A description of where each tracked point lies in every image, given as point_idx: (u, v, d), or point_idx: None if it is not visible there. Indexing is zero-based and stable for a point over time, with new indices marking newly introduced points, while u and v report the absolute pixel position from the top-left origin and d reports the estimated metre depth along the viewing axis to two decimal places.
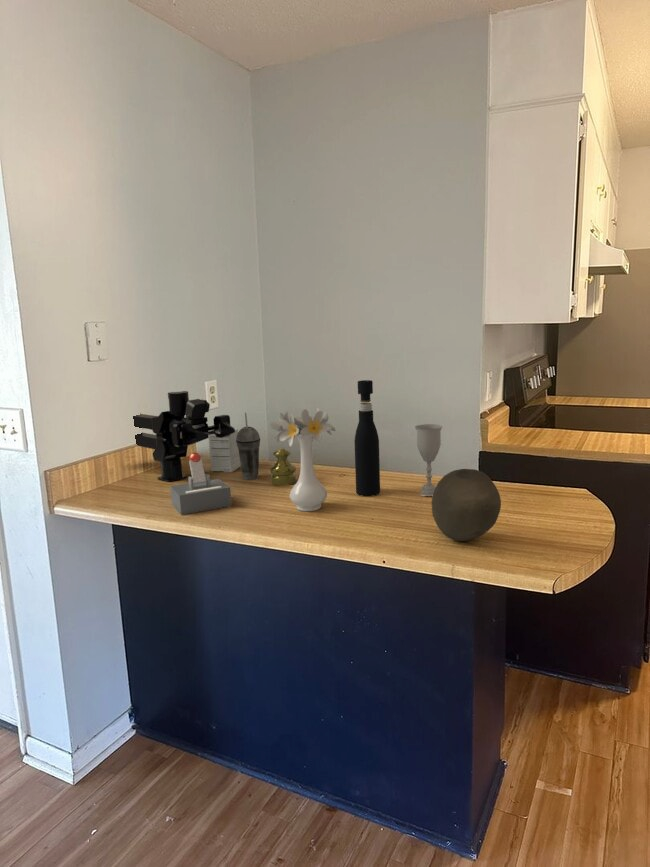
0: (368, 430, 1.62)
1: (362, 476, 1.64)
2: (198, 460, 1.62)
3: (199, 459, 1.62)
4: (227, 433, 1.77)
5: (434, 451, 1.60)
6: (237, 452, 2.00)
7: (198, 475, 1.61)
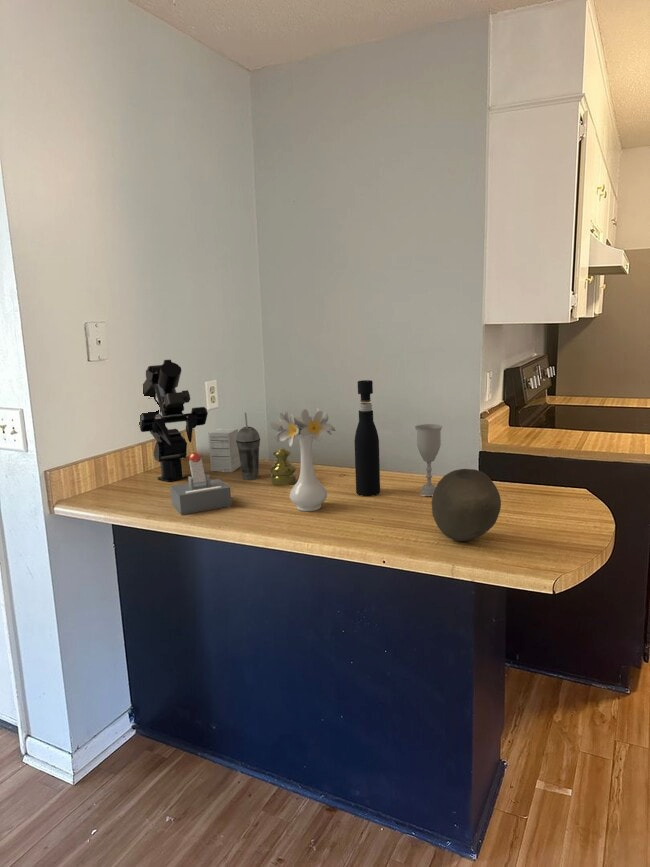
0: (368, 430, 1.62)
1: (362, 476, 1.64)
2: (198, 460, 1.62)
3: (199, 459, 1.62)
4: (187, 435, 1.79)
5: (434, 451, 1.60)
6: (237, 452, 2.00)
7: (198, 475, 1.61)
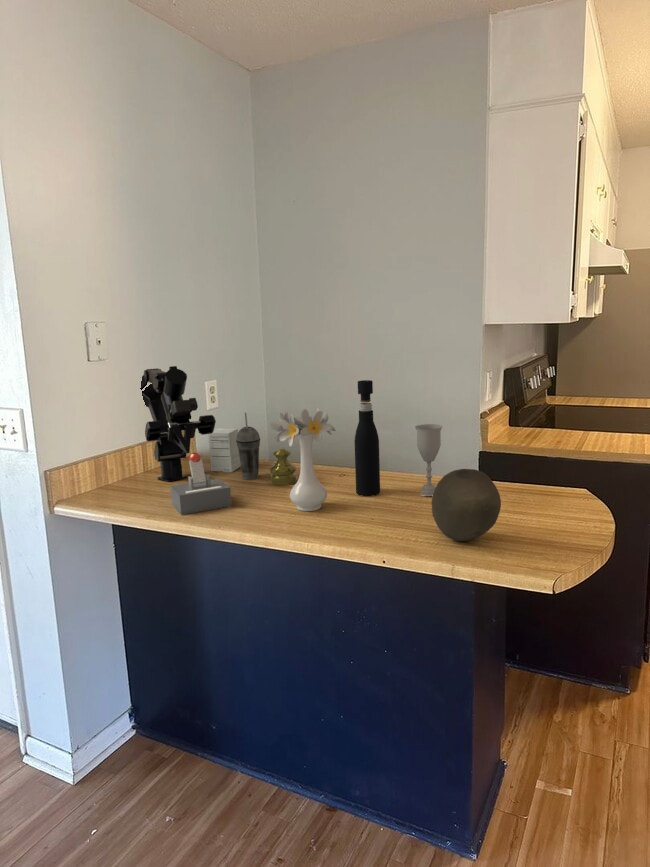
0: (368, 430, 1.62)
1: (362, 476, 1.64)
2: (198, 460, 1.62)
3: (199, 459, 1.62)
4: None
5: (434, 451, 1.60)
6: (237, 452, 2.00)
7: (198, 475, 1.61)
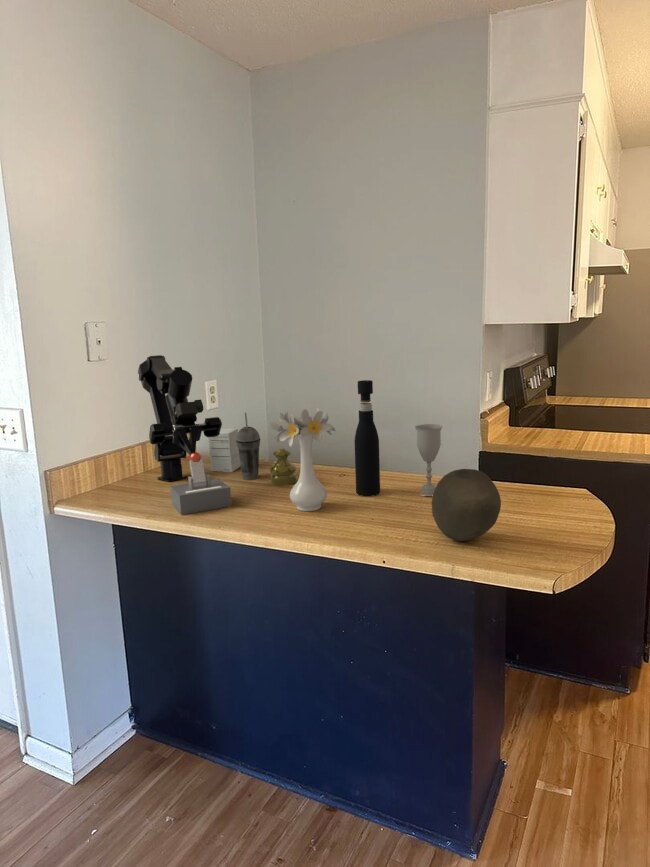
0: (368, 430, 1.62)
1: (362, 476, 1.64)
2: (198, 460, 1.62)
3: (199, 459, 1.62)
4: None
5: (434, 451, 1.60)
6: (237, 452, 2.00)
7: (198, 475, 1.61)
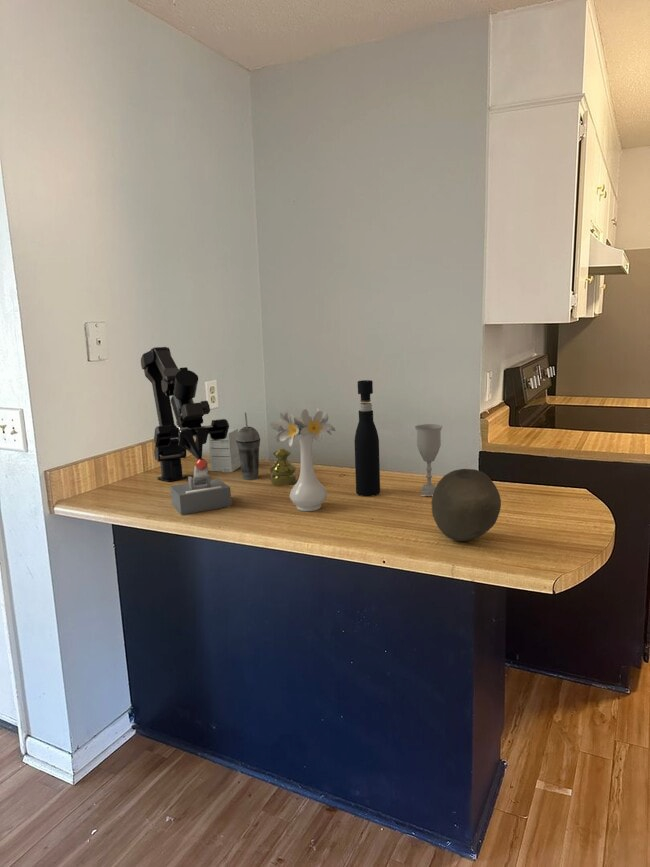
0: (368, 430, 1.62)
1: (362, 476, 1.64)
2: (204, 469, 1.58)
3: (205, 468, 1.58)
4: None
5: (434, 451, 1.60)
6: (237, 452, 2.00)
7: (200, 480, 1.60)
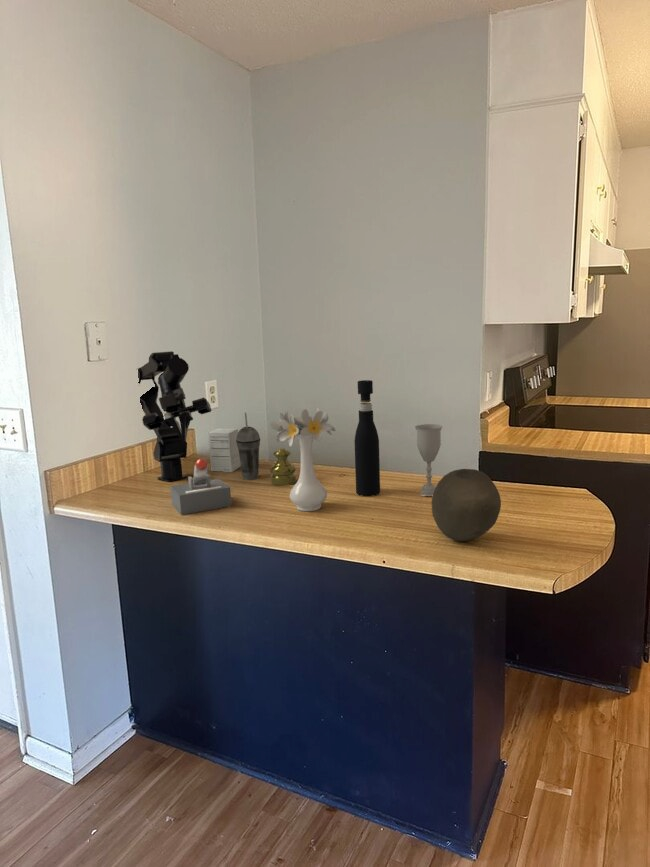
0: (368, 430, 1.62)
1: (362, 476, 1.64)
2: (204, 469, 1.58)
3: (205, 468, 1.58)
4: None
5: (434, 451, 1.60)
6: (237, 452, 2.00)
7: (200, 480, 1.60)
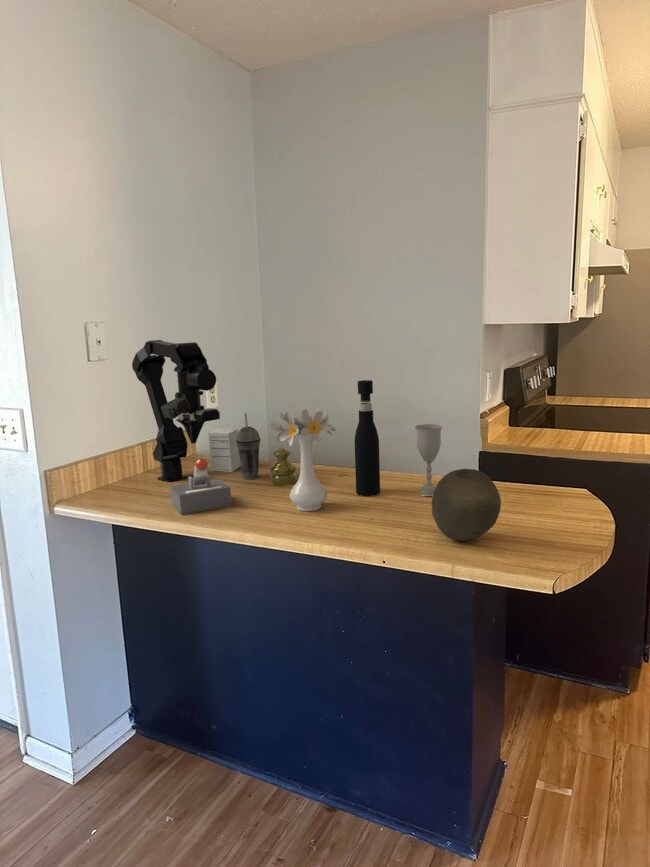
0: (368, 430, 1.62)
1: (362, 476, 1.64)
2: (204, 469, 1.58)
3: (205, 468, 1.58)
4: None
5: (434, 451, 1.60)
6: (237, 452, 2.00)
7: (200, 480, 1.60)
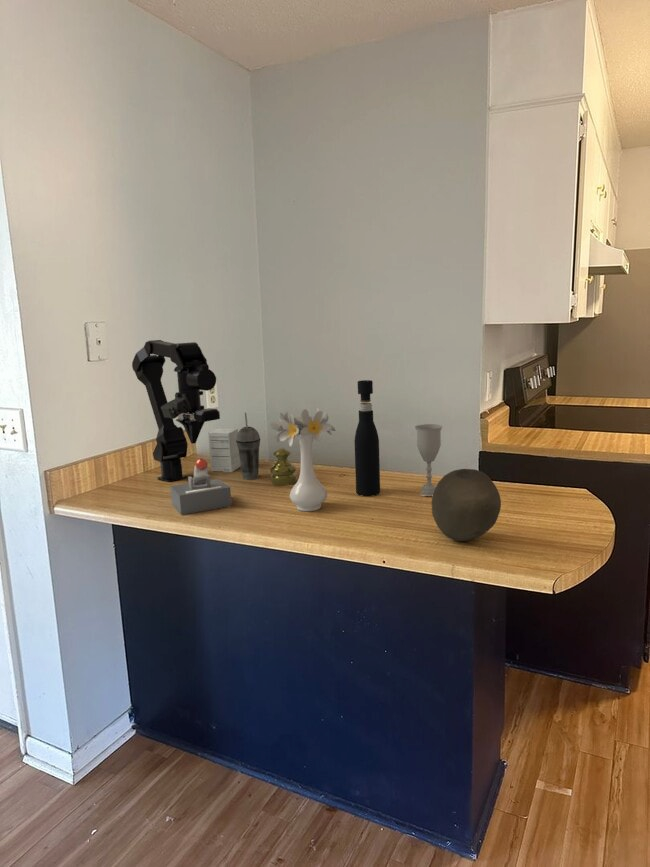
0: (368, 430, 1.62)
1: (362, 476, 1.64)
2: (204, 469, 1.58)
3: (205, 468, 1.58)
4: None
5: (434, 451, 1.60)
6: (237, 452, 2.00)
7: (200, 480, 1.60)
